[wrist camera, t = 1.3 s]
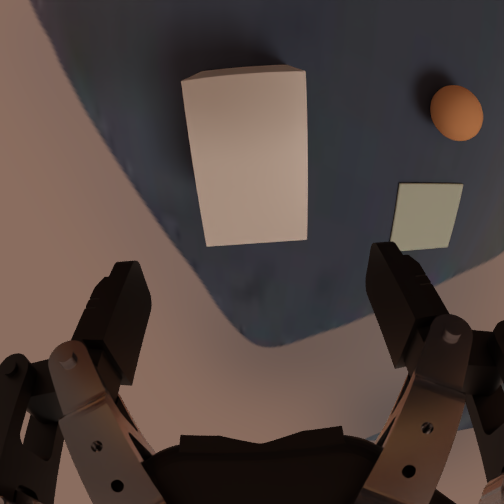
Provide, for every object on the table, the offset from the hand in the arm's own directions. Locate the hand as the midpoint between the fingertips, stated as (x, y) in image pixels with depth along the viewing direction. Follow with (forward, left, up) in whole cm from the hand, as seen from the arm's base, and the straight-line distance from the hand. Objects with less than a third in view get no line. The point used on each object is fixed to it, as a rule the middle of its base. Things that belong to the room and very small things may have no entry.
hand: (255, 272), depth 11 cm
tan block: (0, 0, -18) cm, 18 cm away
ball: (-18, -3, -16) cm, 24 cm away
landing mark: (-18, +9, -18) cm, 27 cm away
